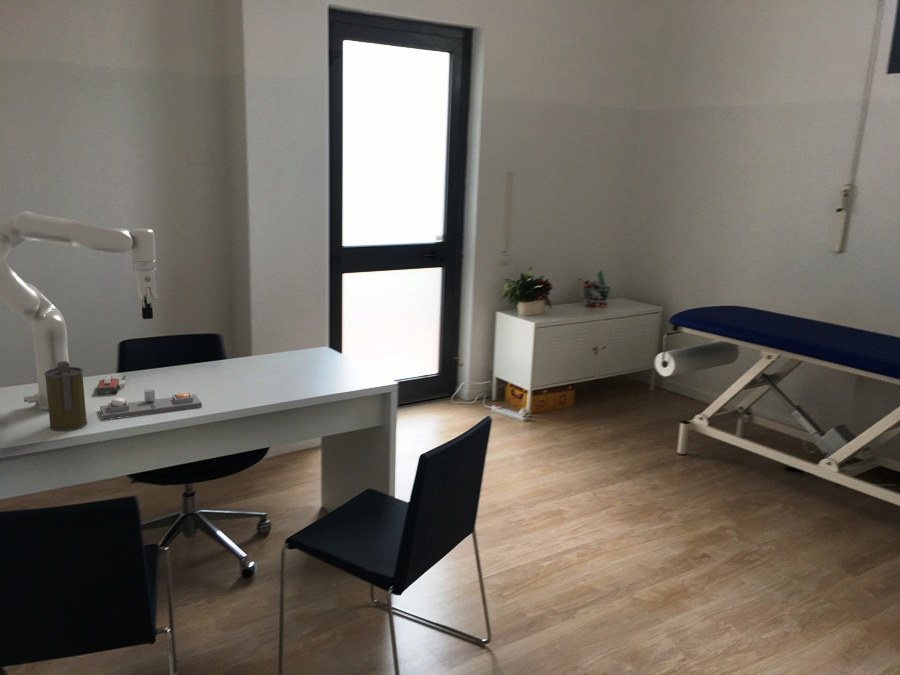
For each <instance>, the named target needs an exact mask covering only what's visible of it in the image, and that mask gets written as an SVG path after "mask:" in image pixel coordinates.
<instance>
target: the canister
mask: <svg viewBox="0 0 900 675" xmlns="http://www.w3.org/2000/svg"><path fill="white" fill-rule="evenodd" d="M57 365H58V368H57V367H56V368H55V369H51V370H48V371H46V372H45V373H44V375H45V376H46V387H47V397H48V408H49V410H48V415H49V417H48V419H49V429H50V430H51V431H54V432H70V430H72V431H77V430H80V429H82V427H83V428H85V427H86V426H87V425H88V424H87V423H88V421H87V411H86V410H87V409H86V399H85V388H84V378H83V377H84V376H83V375H84V374H83V373H84V370H83V368H81V367H75V366H70V362H69V363H68V362H67V361H63V362H58V363H57ZM84 426H85V427H84ZM79 428H80V429H79ZM76 429H77V430H76Z"/></svg>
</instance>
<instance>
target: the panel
mask: <svg viewBox="0 0 900 675" xmlns="http://www.w3.org/2000/svg"><path fill="white" fill-rule="evenodd" d="M187 393H188V394H189V398H181V399H177V398H176V395H177V394H178V393H177V394H176V393H175V394H172V396H171V397H164V398H162V397H161V398H155V401H150V402H145V400H140V401H139V400H138V401H133V402H131V401H130V402H128V401H127V400H125V405H124V406H118V407H112V403H111V402H107V405H100V406H99V407H100V410H101V411H100V413H101V415H103V416H102V418H104V419H108V420H111V419H110V418H115V419H119V418H118V417H123V418H127V417H126V416H130V417H136V416H135V415H138V416H142V415H143V414H145V415H151V414H150V413H153V414H157V413H158V414H160V413H166V412H172V411H173V410H175V411H180V409H182V410H188V408H190V409H194V408H195V409H197V408H202V406H203V405H202V404H203V403H202V401H201V400H200V399H199V398H198V396H197V395H196V394H195V393H194V394H191V392H187ZM196 407H197V408H196ZM159 412H160V413H159ZM173 412H174V411H173ZM104 419H103V420H104Z"/></svg>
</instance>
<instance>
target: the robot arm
mask: <svg viewBox="0 0 900 675" xmlns="http://www.w3.org/2000/svg"><path fill="white" fill-rule="evenodd" d="M28 241H32V242H39V243H46V244H47V243H48V244H53V245H59V246H67V247H72V248H77V249H78V248H79V249H86V250H92V251H97V252H104V253H112V254H125V253H128V252H129V251H130V250H131V251H130V252H131V265H132V266H131V267H132V271H134V272H136V273H135V274H136V286H137V295H138V297H139V298H140V301H141V315H142V316H141V317H142V319H143V320H151V319H153V318H154V314H153V313H154V312H153V302H152V301H153V299H154V300H157V299H158V296H157V294H158V293H157V284H156V283H157V282H156V278H155V277H156V275H155V271H156V270H157V259H156V257H157V256H156V255H157V254H156V237H155V232H154V230H153V229H151V228H133V229H131V228H121V227H114V228H113V227H112V228H105V227H100V226H95V225H94V226H93V225H91V224H87V223H83V222H81V221H78V220H74V219H69V218H65V217H64V218H63V217H56V216H50V215H45V214H44V215H43V214H38V213H34V212H32V211H29V210H27V211H26V210H24V211H20V212H18V213H16V214H14V215H13V216H12V217H10V218H8V219H7V220H5V221H3V222H1V223H0V300H1V301H2V302H3V303H4V304H5V305H6V306H7V308H9V309H10V311H12V312H13V313H14V314H16V315H19V316H21V318H23V319H24V320H25V321H26V322H27V324H29V325H30V326H31V328H32V329H31V330H32V331H31V332H32V337H33V345H34V348H33V349H34V358H35V367H36V376H37V377H36V378H37V386H38V391H37V393H34V395H24V396H23V402H24V403H28V404H31V403H34V408H35V409H37V410H39V411H49V408H48V397H47V387H46V376H45V375H44V373H45V372H46V371H48V370H51V369H55V368H56V367H57V368H58V365H57V363H58V362H63V361H67V362H68V363H69V364H70V360H69V348H68V330H67V329H68V328H67V323H66V321H65V318H64V316H63V314H62V312H61V311H60V310H59V309H58V308H57V307H56V306H55V305H54V304H53V303H52V302H51V301H50V299H48V298H47V297H46V296H45V295H44V294H43V293H42V292H41V291H40V290H39V289H38V288H37V287H36V286H34V285H33V284H32V283H28V282H26V281H24V280H23V279H22V278H21V277H20V276H19V275H18V274H17V272H15V271H14V270H13V269H12V268H11V267H10V266H9V264H8V262H7V257H8V256H9V254H10V252H11V251H13V250H14V249H17V248H18V247H19V246H21V245H22V244H25V243H26V242H28Z"/></svg>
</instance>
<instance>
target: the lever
mask: <svg viewBox="0 0 900 675" xmlns="http://www.w3.org/2000/svg"><path fill="white" fill-rule="evenodd" d="M155 394H156V393H155V389H154V388H150V389H143V397H144V399H143V400H144V401H145V402H150V401H155V399H156V395H155Z"/></svg>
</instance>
